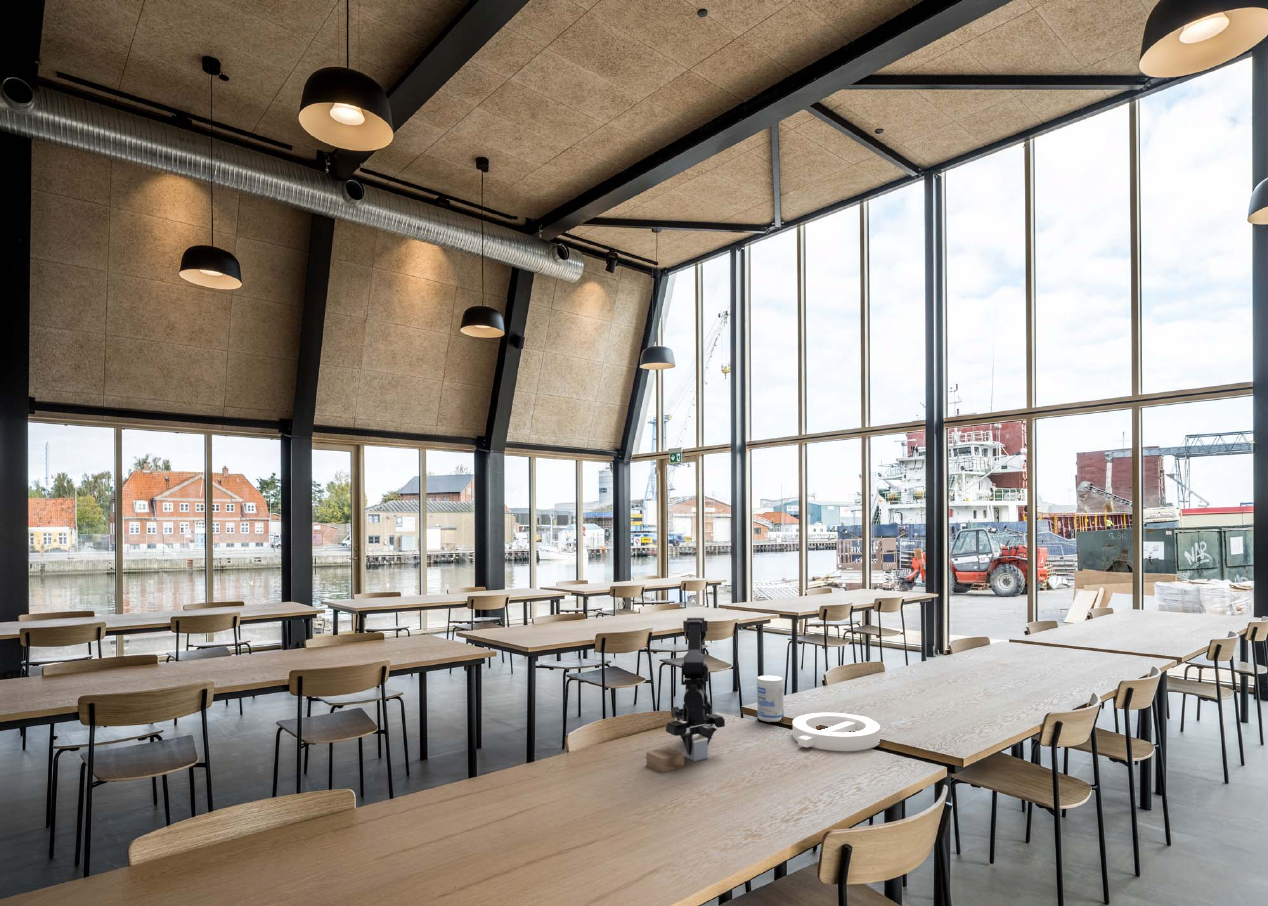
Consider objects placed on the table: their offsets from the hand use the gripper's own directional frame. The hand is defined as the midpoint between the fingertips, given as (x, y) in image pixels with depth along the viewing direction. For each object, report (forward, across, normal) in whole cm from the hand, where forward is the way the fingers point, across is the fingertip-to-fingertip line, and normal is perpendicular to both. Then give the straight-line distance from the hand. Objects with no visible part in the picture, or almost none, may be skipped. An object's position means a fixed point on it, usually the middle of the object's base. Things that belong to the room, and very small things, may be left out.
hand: (696, 753), depth 218 cm
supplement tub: (+2, -47, -20) cm, 51 cm away
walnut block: (+2, +12, +1) cm, 12 cm away
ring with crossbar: (+2, -50, +9) cm, 51 cm away
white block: (+1, 0, 0) cm, 1 cm away
